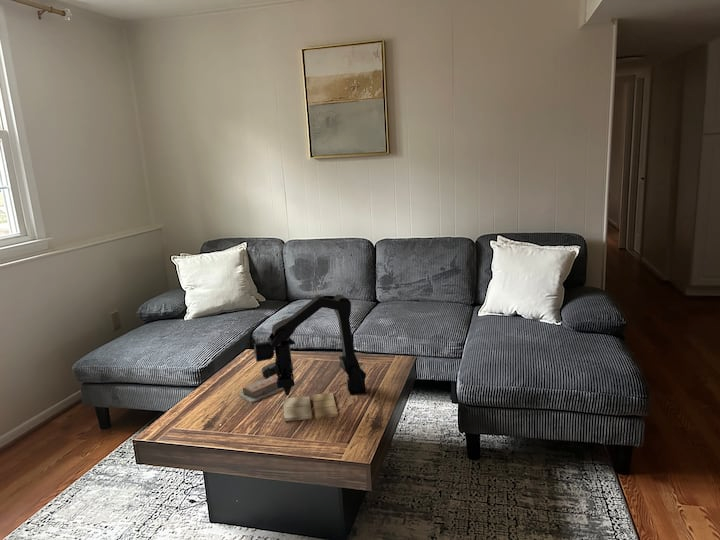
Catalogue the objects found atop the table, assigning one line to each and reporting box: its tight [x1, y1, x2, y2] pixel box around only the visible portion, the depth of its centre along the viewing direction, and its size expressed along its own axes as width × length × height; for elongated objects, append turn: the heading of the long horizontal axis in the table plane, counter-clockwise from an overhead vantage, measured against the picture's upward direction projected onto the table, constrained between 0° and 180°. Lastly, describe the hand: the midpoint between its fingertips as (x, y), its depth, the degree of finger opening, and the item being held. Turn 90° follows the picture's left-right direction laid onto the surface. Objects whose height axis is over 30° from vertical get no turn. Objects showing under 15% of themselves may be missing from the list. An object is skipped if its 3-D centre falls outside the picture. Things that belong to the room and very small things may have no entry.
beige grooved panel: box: [282, 396, 313, 422], centre depth 198 cm, size 10×16×1 cm, turn 9°
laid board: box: [311, 392, 339, 420], centre depth 199 cm, size 8×18×1 cm, turn 9°
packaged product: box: [237, 374, 284, 404], centre depth 216 cm, size 18×5×10 cm
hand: (287, 394), depth 201 cm, fingers closed
